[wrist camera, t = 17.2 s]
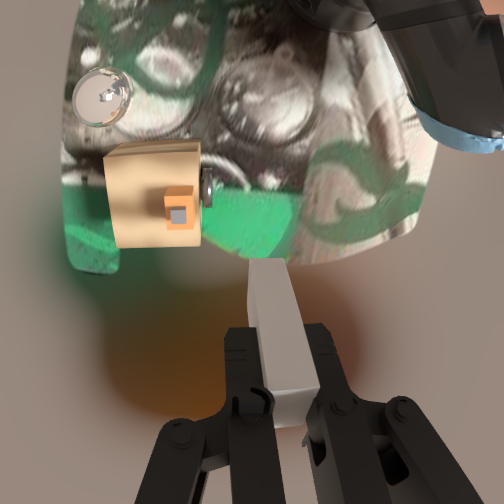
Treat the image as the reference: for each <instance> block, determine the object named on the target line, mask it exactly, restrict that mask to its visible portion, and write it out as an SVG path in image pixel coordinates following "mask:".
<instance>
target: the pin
mask: <svg viewBox="0 0 504 504" xmlns="http://www.w3.org/2000/svg"><path fill="white" fill-rule="evenodd" d="M199 200H202V201H203V208H212V168H203V171H202V177H199Z"/></svg>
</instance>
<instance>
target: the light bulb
mask: <svg viewBox="0 0 504 504" xmlns="http://www.w3.org/2000/svg"><path fill="white" fill-rule="evenodd" d="M133 97H134V88H133V84H132V82H131V80H130V78H129V77H128V75H127V74H126V73H125V72H123V71H122V70H120V69H118V68H115V67H111V66H103V67H98V68H95V69H93V70H91V71H89V72H88V73H86V74H85V75H84V76H83V77H82V78H81V79H80V80H79V81H78V83H77V84H76V86H75V88H74V91H73V95H72V107H73V110H74V113H75V115H76V117H77V118H78V119H79V120H80V121H81V122H82V123H84V124H86V125H88V126H90V127H94V128H102V127H108V126H111V125H113V124H115V123H117V122H118V121H120V120H121V119H122V118H123V117H124V116H125V115H126V114H127V112H128V111H129V109H130V107H131V105H132V102H133Z"/></svg>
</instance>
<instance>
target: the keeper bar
mask: <svg viewBox="0 0 504 504" xmlns="http://www.w3.org/2000/svg"><path fill="white" fill-rule="evenodd" d="M164 201H165V214H166V225H167V230H188V229H194V222H195V205H194V186H177V187H168V188H167V190H166V193H165V195H164Z"/></svg>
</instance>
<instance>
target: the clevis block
mask: <svg viewBox="0 0 504 504" xmlns="http://www.w3.org/2000/svg"><path fill="white" fill-rule="evenodd" d="M103 161H104V170H105V178H106V186H107V193H108V200H109V207H110V213H111V219H112V225H113V230H114V236H115V241H116V246H117V248H140V247H141V248H142V247H181V246H200V239H201V223H202V209H201V200H199V177H201V156H200V139H176V140H157V141H143V142H131V143H121V144H120V145H119V146H117V147H116V148H115V149H114V150H112V151H111V152H110V153H108V154H107V155H106V156H105V157H103ZM177 186H194V205H195V222H194V229H188V230H167V225H166V214H165V201H164V195H165V193H166V190H167V188H168V187H177Z"/></svg>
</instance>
